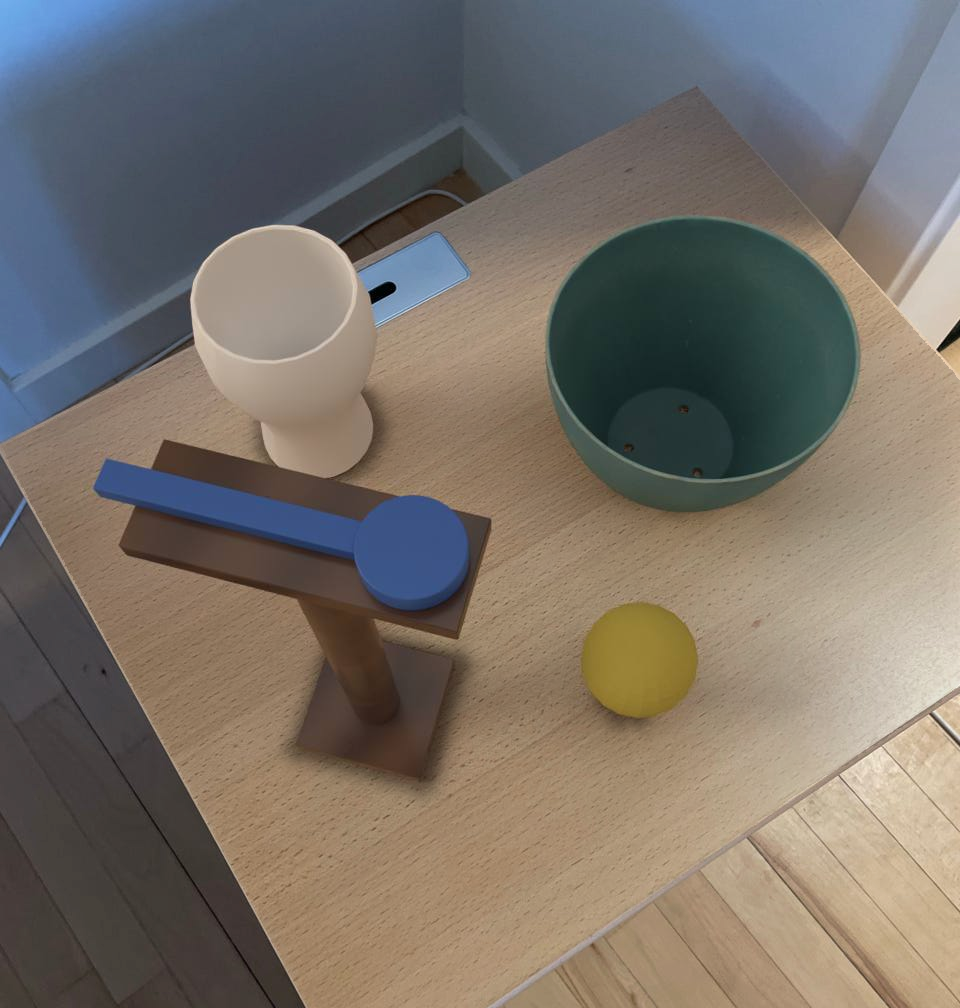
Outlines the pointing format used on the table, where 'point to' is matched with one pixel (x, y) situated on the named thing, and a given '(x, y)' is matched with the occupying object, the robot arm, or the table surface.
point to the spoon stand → (322, 607)
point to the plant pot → (699, 360)
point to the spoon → (320, 530)
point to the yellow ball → (639, 660)
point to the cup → (289, 343)
